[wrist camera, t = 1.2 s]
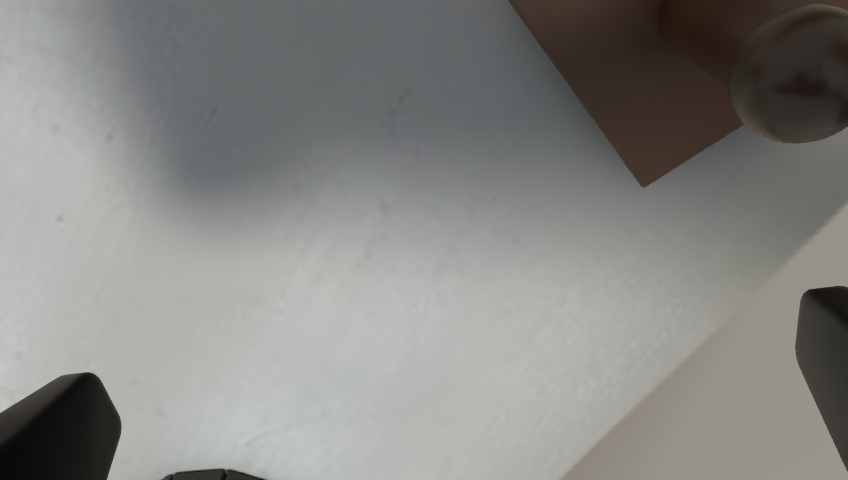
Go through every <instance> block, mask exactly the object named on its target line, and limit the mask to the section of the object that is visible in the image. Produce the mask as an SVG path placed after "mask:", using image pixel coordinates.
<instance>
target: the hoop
mask: <svg viewBox="0 0 848 480" xmlns="http://www.w3.org/2000/svg"><path fill="white" fill-rule="evenodd" d="M164 480H260V479H257V478H253V477H250V476H246V475H243V474H240V473H236V472H233V471H229V472H228V473H227V475H225V472H224V470H214V471H202V472H190V473H178V474H175V476H174V477H173V476H171V475H170V476H169V477H167V478H165V479H164Z"/></svg>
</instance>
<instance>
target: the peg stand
mask: <svg viewBox="0 0 848 480" xmlns="http://www.w3.org/2000/svg"><path fill="white" fill-rule="evenodd" d="M508 1H509V2H510V3H511V5H512V6H513V8H514V9H515V10H516V12H517V13H518V15H519V16H520V17H521V19H522V20H523V22H524V23H525V24H526V26H527V27H528V29H529V30H530V31H531V33H532V34H533V36H534V37H535V38H536V40H537V41H538V43H539V44H540V45H541V47H542V48H543V50H544V51H545V52H546V54H547V55H548V57H549V58H550V59H551V61H552V62H553V64H554V65H555V66H556V68H557V69H558V71H559V72H560V73H561V75H562V76H563V78H564V79H565V80H566V82H567V83H568V85H569V86H570V87H571V89H572V90H573V92H574V93H575V94H576V96H577V97H578V99H579V100H580V101H581V103H582V104H583V106H584V107H585V108H586V110H587V111H588V113H589V114H590V115H591V117H592V118H593V120H594V121H595V122H596V124H597V125H598V127H599V128H600V129H601V131H602V132H603V134H604V135H605V136H606V138H607V139H608V141H609V142H610V143H611V145H612V146H613V148H614V149H615V150H616V152H617V153H618V155H619V156H620V157H621V159H622V160H623V162H624V163H625V164H626V166H627V167H628V169H629V170H630V172H631V173H632V174H633V176H634V177H635V179H636V180H637V181H638V183H639V184H640V186H641V187H643V188H644V187H646V186H648V185H649V184H651V183H652V182H654V181H656V180H657V179H659V178H660V177H662V176H663V175H665V174H667V173H668V172H670V171H671V170H673V169H674V168H676V167H678V166H679V165H681V164H682V163H684V162H685V161H687V160H689V159H690V158H692V157H693V156H695V155H696V154H698V153H700V152H701V151H703V150H704V149H706V148H707V147H709V146H711V145H712V144H714V143H715V142H717V141H718V140H720V139H722V138H723V137H725V136H726V135H728V134H729V133H731V132H733V131H734V130H736V129H737V128H739V127H740V126H742V125H745V126H747V127H748V128H749V129H750V130H752V131H753V132H755V133H756V134H758V135H760V136H762V137H764V138H767V139H770V140H773V141H776V142H782V143H796V144H798V143H808V142H813V141H818V140H821V139H825V138H827V137H830V136H832V135H835V134H836V133H838V132H840V131H842V130H843V129H845V128H846V127H848V0H508Z"/></svg>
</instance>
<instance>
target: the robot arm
mask: <svg viewBox="0 0 848 480" xmlns="http://www.w3.org/2000/svg"><path fill="white" fill-rule="evenodd" d="M796 336H797V337H796V345H795V349H796V357H797V361H798V364H799V367H800V369H801V371H802V374H803V376H804V378H805V380H806V382H807V384H808V387H809V389H810V391H811V393H812V395H813V398H814V399H815V402H816V404H817V406H818V408H819V411H820V413H821V415H822V417H823V420H824V422H825V424H826V426H827V428H828V430H829V433H830V435H831V437H832V439H833V441H834V444H835V446H836V448H837V450H838V452H839V454H840V457H841V459H842V461H843V463H844V465H845V467H846V469H847V471H848V287H844V286H834V287H826V288H817V289H810V290H808V291H806V292H805V293H804V294H803V296H802V298H801V302H800V309H799V318H798V327H797V335H796ZM120 435H121V420H120V416H119V414H118V412H117V410H116V408H115V406H114V405H113V403H112V401H111V399H110V397H109V395H108V393H107V391H106V389H105V387H104V386H103V384H102V382H101V380H100V379H99V377H97V376H96V375H95V374H93V373H89V372H86V373H77V374H68V375H63V376H60V377H58V378H57V379H55V380H53V381H52V382H50V383H48V384H47V385H45V386H44V387H42V388H40V389H39V390H37V391H35V392H34V393H32V394H31V395H29V396H27V397H26V398H24V399H23V400H21V401H19V402H18V403H16V404H14V405H13V406H11V407H10V408H8V409H6V410H5V411H3V412H1V413H0V480H107V477H108V474H109V471H110V467H111V464H112V461H113V458H114V455H115V452H116V448H117V445H118V442H119V439H120Z"/></svg>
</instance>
